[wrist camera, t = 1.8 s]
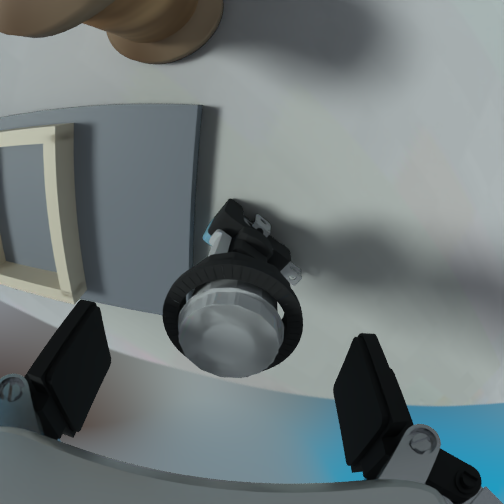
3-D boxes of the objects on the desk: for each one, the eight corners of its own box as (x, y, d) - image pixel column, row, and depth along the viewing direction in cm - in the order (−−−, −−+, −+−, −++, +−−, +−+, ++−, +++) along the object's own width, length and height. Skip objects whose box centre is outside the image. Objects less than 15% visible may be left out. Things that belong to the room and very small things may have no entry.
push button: (324, 242, 20) (360, 354, 11) (269, 296, 22) (266, 418, 13) (240, 175, 18) (208, 246, 9) (190, 239, 20) (132, 344, 11)
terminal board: (202, 105, 16) (188, 104, 13) (191, 309, 22) (181, 337, 20) (-20, 121, 16) (-47, 128, 13) (-1, 269, 22) (-21, 286, 20)
